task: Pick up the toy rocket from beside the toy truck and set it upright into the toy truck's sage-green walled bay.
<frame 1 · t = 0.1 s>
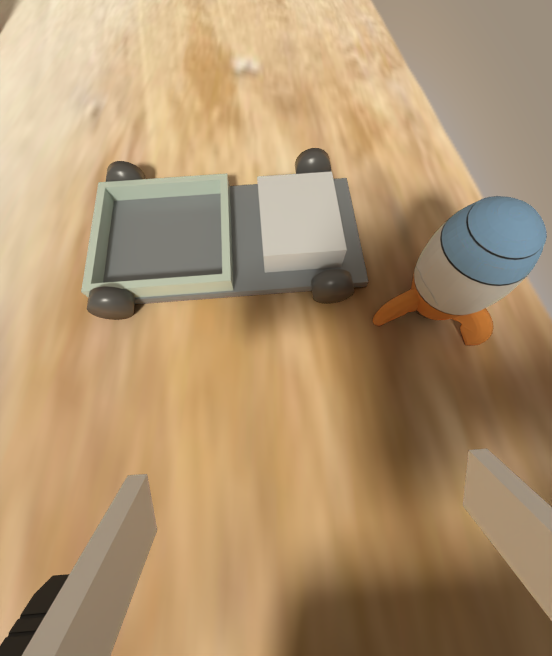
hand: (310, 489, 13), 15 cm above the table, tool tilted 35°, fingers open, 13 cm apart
toy rocket: (426, 300, 34), on the table
toy truck: (231, 241, 36), on the table
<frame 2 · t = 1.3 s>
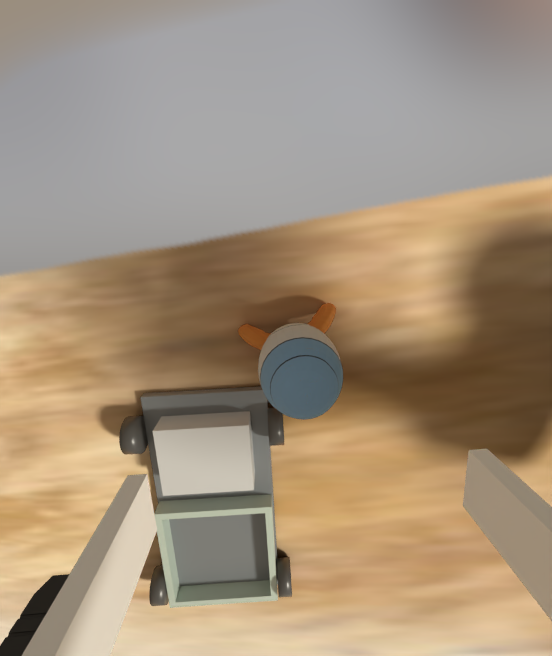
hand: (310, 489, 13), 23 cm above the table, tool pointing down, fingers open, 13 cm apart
toy rocket: (281, 333, 36), on the table
toy truck: (216, 493, 40), on the table
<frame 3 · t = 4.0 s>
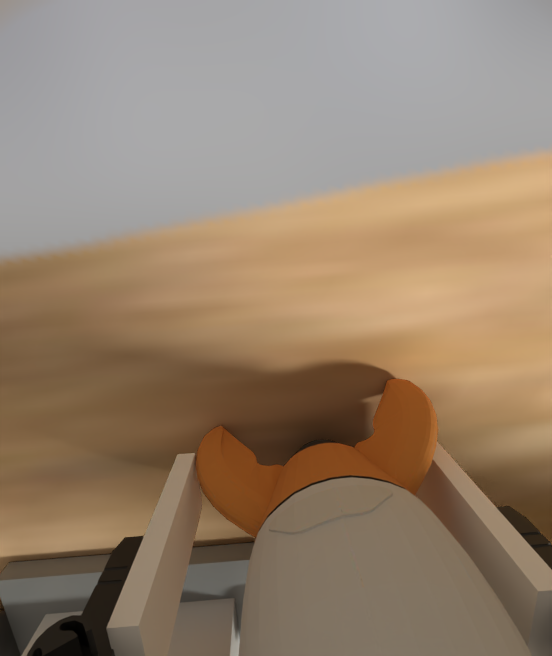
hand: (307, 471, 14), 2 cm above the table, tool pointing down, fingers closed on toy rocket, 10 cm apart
toy rocket: (295, 441, 17), on the table, touching gripper
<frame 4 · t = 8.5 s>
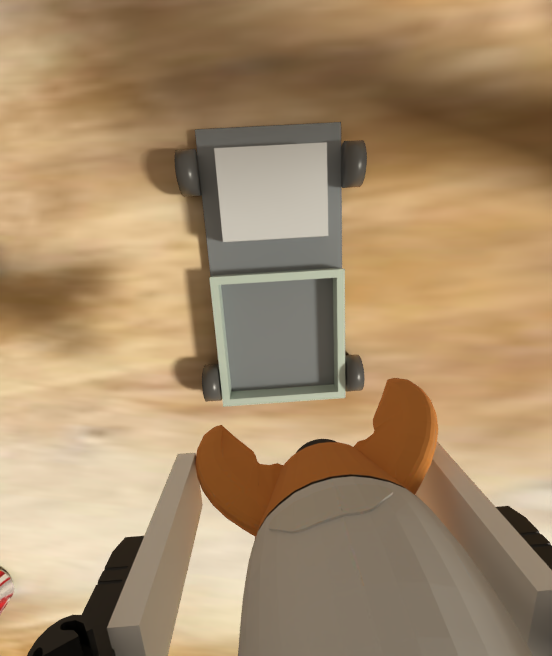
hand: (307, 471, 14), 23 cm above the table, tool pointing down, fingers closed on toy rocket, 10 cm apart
toy rocket: (295, 440, 17), point 21 cm above the table, touching gripper
toy truck: (276, 272, 35), on the table
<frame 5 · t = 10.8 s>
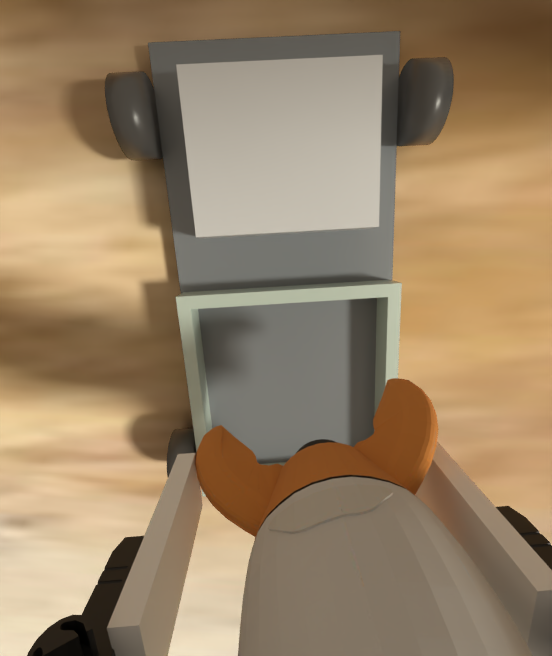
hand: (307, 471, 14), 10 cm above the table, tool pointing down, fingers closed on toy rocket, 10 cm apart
toy rocket: (295, 440, 17), point 8 cm above the table, touching gripper
toy truck: (286, 287, 22), on the table
when the fingers open (5 cm above the table, at t = 12.8 s): toy rocket drops 2 cm, resting on toy truck.
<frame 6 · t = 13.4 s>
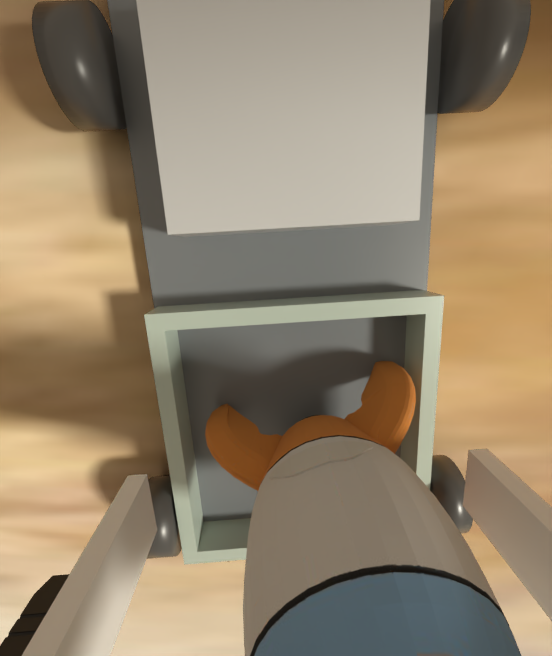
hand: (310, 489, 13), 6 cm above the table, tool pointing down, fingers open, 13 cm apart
toy rocket: (293, 418, 18), point 1 cm above the table, touching toy truck
toy truck: (290, 298, 18), on the table
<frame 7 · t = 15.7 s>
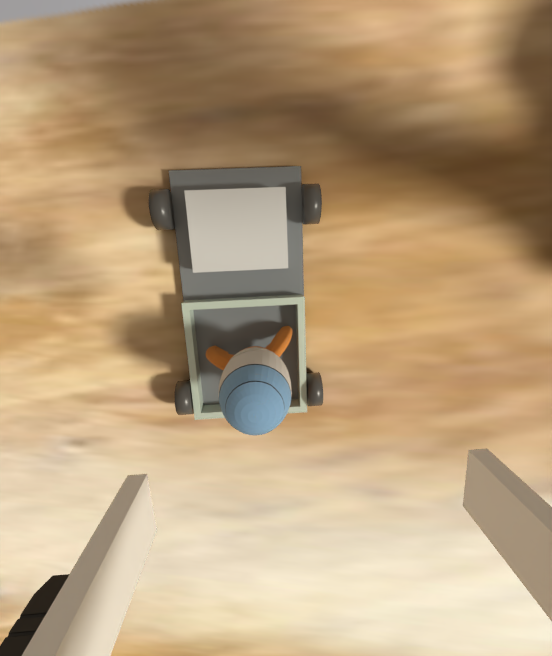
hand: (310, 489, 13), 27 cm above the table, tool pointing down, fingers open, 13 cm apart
toy rocket: (246, 353, 40), point 1 cm above the table, touching toy truck
toy truck: (244, 297, 39), on the table
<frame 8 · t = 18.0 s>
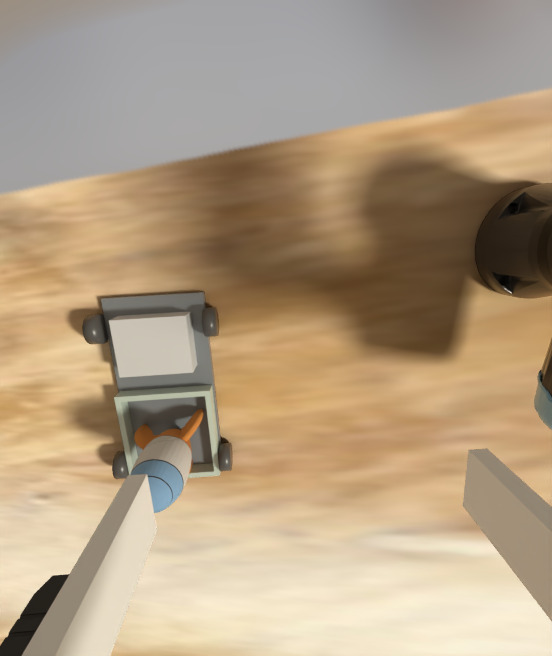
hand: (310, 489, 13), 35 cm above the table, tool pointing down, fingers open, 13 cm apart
toy rocket: (171, 429, 50), point 1 cm above the table, touching toy truck
toy truck: (168, 386, 49), on the table
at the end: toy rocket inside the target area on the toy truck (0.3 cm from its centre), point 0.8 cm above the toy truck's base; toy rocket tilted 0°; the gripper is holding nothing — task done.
